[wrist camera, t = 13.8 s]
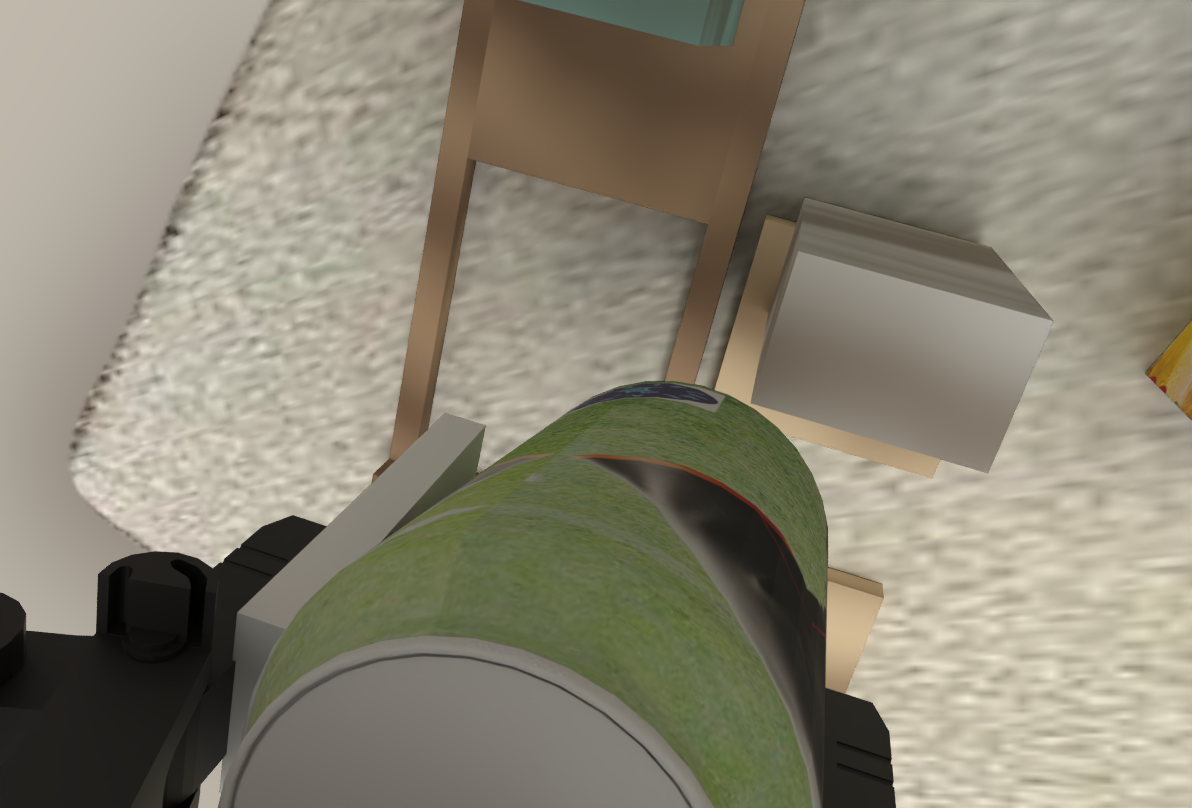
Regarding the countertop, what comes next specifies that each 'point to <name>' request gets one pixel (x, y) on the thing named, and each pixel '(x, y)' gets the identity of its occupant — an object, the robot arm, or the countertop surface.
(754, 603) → the beverage can
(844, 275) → the broken strip
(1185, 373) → the beverage box
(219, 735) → the robot arm
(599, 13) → the wooden frame with block
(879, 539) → the countertop surface
